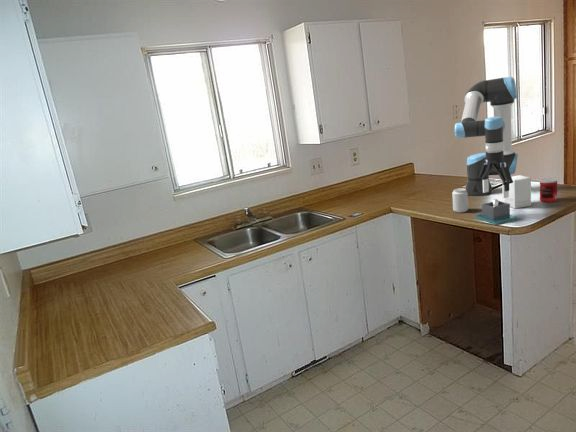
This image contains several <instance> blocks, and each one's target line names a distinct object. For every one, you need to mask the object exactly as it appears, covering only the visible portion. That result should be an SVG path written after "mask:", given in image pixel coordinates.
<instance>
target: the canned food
mask: <svg viewBox="0 0 576 432" xmlns="http://www.w3.org/2000/svg"><path fill="white" fill-rule="evenodd" d="M557 199H558V179H557V178H552V177H551V178H550V177H549V178H542V179H539V202H542V203H554V202H557V201H558V200H557Z"/></svg>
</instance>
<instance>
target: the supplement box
mask: <svg viewBox="0 0 576 432" xmlns="http://www.w3.org/2000/svg"><path fill="white" fill-rule="evenodd" d="M511 177H512V180H513V183H510V184H509V197H507V198H504V202H505V203H508V204H510V208H513V209H520V208H526V207H531V205H532V196H531V195H532V194H531V193H532V192H531V191H532V189H531V186H532V185H531V184H532V182H531V181H532V178H531V177H529V176H524V175H520V174H518V175H513V176H512V175H511ZM509 181H510V180H509Z"/></svg>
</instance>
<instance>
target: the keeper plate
mask: <svg viewBox="0 0 576 432" xmlns="http://www.w3.org/2000/svg"><path fill="white" fill-rule="evenodd" d="M498 201H499V199H492V202H493V206H498ZM475 219H478V220H480V221H482V222H485V223H488V224H492V225H495V226H497V225H501V223H502V224H505V222H506V223H510V222H513V220H514V221H517V220H518V216H516V215H513V214H510V216H507V217H503V218H499V219H495V220H493V219H490V218H487V217H484V216H482V213H480V214H476V215H475ZM509 221H510V222H509Z"/></svg>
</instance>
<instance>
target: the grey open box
mask: <svg viewBox="0 0 576 432" xmlns="http://www.w3.org/2000/svg"><path fill="white" fill-rule="evenodd" d="M510 208H511V207H510V204H508V203H505V201H500V200H498V206H493V201H492V202H486V203H482V204H481V210H482V211H481V212H482V213H481V214H482V216H484V217H487V218H490V219H493V220H495V219H499V218H503V217H507V216H510V215H511V211H510V210H511V209H510Z"/></svg>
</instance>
